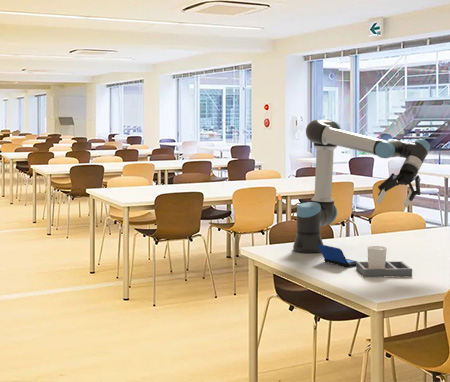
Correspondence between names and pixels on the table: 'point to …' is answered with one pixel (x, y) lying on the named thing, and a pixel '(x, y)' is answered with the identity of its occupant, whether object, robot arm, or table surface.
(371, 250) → the white cup
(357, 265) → the walled box
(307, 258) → the table surface
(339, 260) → the handheld game console
